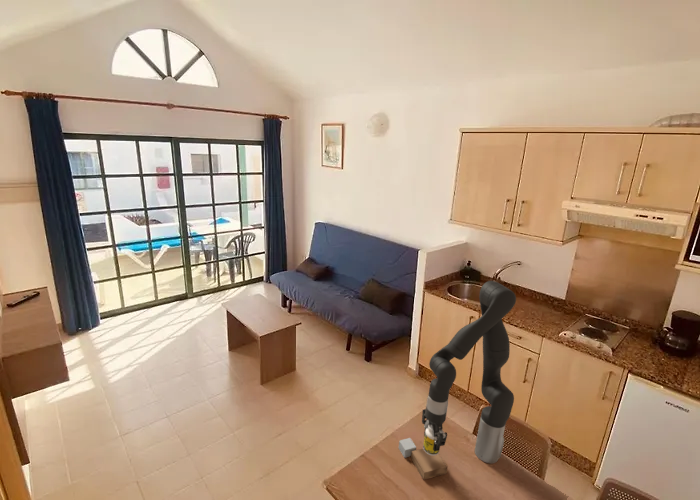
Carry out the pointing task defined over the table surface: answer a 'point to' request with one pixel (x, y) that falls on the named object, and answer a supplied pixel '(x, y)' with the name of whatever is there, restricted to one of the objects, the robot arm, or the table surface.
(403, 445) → the slate block
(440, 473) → the walnut block
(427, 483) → the table surface
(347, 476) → the table surface
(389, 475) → the table surface
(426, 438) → the pill bottle
